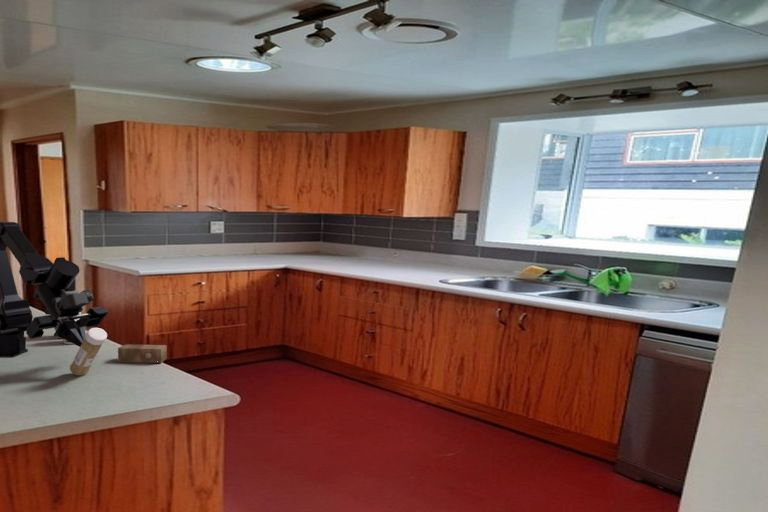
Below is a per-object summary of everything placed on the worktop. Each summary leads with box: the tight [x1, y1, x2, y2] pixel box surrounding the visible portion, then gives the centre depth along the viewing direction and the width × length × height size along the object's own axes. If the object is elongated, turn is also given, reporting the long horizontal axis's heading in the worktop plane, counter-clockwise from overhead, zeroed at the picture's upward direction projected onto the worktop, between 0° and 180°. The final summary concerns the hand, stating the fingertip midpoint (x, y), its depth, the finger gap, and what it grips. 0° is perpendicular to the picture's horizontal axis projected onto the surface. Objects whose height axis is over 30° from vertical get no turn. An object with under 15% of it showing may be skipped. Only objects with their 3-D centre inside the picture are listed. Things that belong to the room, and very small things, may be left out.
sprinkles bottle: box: [69, 327, 108, 376], centre depth 128 cm, size 5×5×14 cm
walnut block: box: [117, 344, 168, 364], centre depth 144 cm, size 4×4×12 cm
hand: (84, 346), depth 129 cm, fingers closed
